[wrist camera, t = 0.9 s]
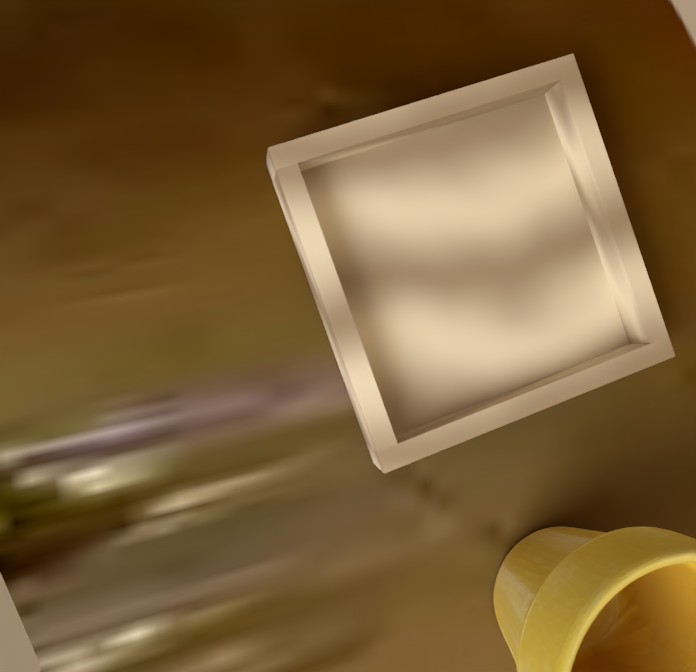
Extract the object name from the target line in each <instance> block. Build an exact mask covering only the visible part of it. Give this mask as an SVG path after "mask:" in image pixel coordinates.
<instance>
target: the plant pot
mask: <svg viewBox="0 0 696 672" xmlns="http://www.w3.org/2000/svg"><path fill="white" fill-rule="evenodd" d="M493 598H494V608H495V614H496V617H497V621H498V624H499V626H500V628H501V631H502V633H503V635H504V638H505V640H506V642H507V644H508V646H509V648H510V651H511V653H512V655H513V657H514V660H515V662H516V664H517V672H696V539H695V538H692V537H689V536H686V535H683V534H680V533H677V532H674V531H671V530H666V529H661V528H656V527H628V528H622V529H617V530H613V531H610V532H600V531H593V530H587V529H581V528H573V527H563V526H560V527H549V528H545V529H541V530H538V531H536V532H534V533H532V534H530V535H528V536H527V537H525V538H524V539H522V540H521V541H520V542H519V543H517V544H516V545H515V546H514V547H513V548H512V549H511V551H510V552H509V553H508V555H507V556H506V557H505V559H504V561H503V562H502V564H501V567H500V569H499V571H498V574H497V577H496V581H495V586H494V597H493Z"/></svg>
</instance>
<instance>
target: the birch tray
mask: <svg viewBox="0 0 696 672" xmlns="http://www.w3.org/2000/svg"><path fill="white" fill-rule="evenodd" d="M266 165H267V168H268V171H269V174H270V176H271V179H272V182H273V185H274V187H275V190H276V193H277V196H278V199H279V201H280V204H281V207H282V210H283V213H284V215H285V218H286V221H287V224H288V227H289V229H290V232H291V235H292V238H293V241H294V243H295V246H296V249H297V252H298V254H299V257H300V260H301V263H302V266H303V268H304V271H305V274H306V277H307V280H308V282H309V285H310V288H311V291H312V294H313V296H314V299H315V302H316V305H317V308H318V310H319V313H320V316H321V319H322V321H323V324H324V327H325V330H326V333H327V335H328V338H329V341H330V344H331V347H332V349H333V352H334V355H335V358H336V361H337V363H338V366H339V369H340V372H341V374H342V377H343V380H344V383H345V386H346V388H347V391H348V394H349V397H350V400H351V402H352V405H353V408H354V411H355V414H356V416H357V419H358V422H359V425H360V428H361V430H362V433H363V436H364V439H365V441H366V444H367V447H368V450H369V453H370V455H371V458H372V461H373V463H374V464H375V465H376V466H377V467H378V468H379V469H380V470H381V471H382V472H383V473H387V472H389V471H392V470H394V469H397V468H399V467H402V466H404V465H407V464H409V463H412V462H414V461H417V460H419V459H422V458H424V457H427V456H429V455H432V454H434V453H437V452H439V451H442V450H444V449H447V448H449V447H451V446H454V445H456V444H459V443H461V442H464V441H466V440H469V439H471V438H474V437H476V436H479V435H481V434H484V433H486V432H489V431H491V430H494V429H496V428H499V427H501V426H504V425H506V424H509V423H511V422H514V421H516V420H519V419H521V418H523V417H526V416H528V415H531V414H533V413H536V412H538V411H541V410H543V409H546V408H548V407H551V406H553V405H556V404H558V403H561V402H563V401H566V400H568V399H571V398H573V397H576V396H578V395H581V394H583V393H586V392H588V391H591V390H593V389H595V388H598V387H600V386H603V385H605V384H608V383H610V382H613V381H615V380H618V379H620V378H623V377H625V376H628V375H630V374H633V373H635V372H638V371H640V370H643V369H645V368H648V367H650V366H653V365H655V364H658V363H660V362H662V361H665V360H667V359H670V358H672V357H675V353H674V350H673V347H672V344H671V342H670V339H669V336H668V333H667V330H666V327H665V324H664V321H663V318H662V315H661V312H660V309H659V306H658V303H657V300H656V297H655V294H654V291H653V288H652V285H651V282H650V279H649V276H648V273H647V270H646V267H645V264H644V261H643V258H642V255H641V252H640V250H639V247H638V244H637V241H636V238H635V235H634V232H633V229H632V226H631V223H630V220H629V217H628V214H627V211H626V208H625V205H624V202H623V199H622V196H621V193H620V190H619V187H618V184H617V181H616V178H615V175H614V172H613V169H612V166H611V163H610V161H609V158H608V155H607V152H606V149H605V146H604V143H603V140H602V137H601V134H600V131H599V128H598V125H597V122H596V119H595V116H594V113H593V110H592V107H591V104H590V101H589V98H588V95H587V92H586V89H585V86H584V83H583V80H582V77H581V74H580V71H579V69H578V66H577V63H576V60H575V57H574V54H570V55H566V56H563V57H560V58H557V59H553V60H550V61H547V62H544V63H540V64H537V65H534V66H531V67H527V68H524V69H521V70H518V71H515V72H511V73H508V74H505V75H502V76H498V77H495V78H492V79H489V80H485V81H482V82H479V83H476V84H472V85H469V86H466V87H463V88H459V89H456V90H453V91H450V92H446V93H443V94H440V95H437V96H434V97H430V98H427V99H424V100H421V101H417V102H414V103H411V104H408V105H404V106H401V107H398V108H395V109H391V110H388V111H385V112H382V113H378V114H375V115H372V116H369V117H366V118H362V119H359V120H356V121H353V122H349V123H346V124H343V125H340V126H336V127H333V128H330V129H327V130H323V131H320V132H317V133H314V134H310V135H307V136H304V137H301V138H297V139H294V140H291V141H288V142H285V143H281V144H278V145H275V146H272V147H268V151H267V160H266Z"/></svg>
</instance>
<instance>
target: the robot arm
mask: <svg viewBox="0 0 696 672" xmlns="http://www.w3.org/2000/svg"><path fill="white" fill-rule="evenodd" d="M40 670H41V665H40V663H39V661H38V658H37V656H36V654H35V652H34V649H33V647H32V645H31V642H30V640H29V638H28V635H27V633H26V631H25V628H24V626H23V624H22V622H21V619H20V617H19V615H18V612H17V610H16V608H15V605H14V603H13V601H12V599H11V596H10V594H9V592H8V589H7V587H6V585H5V582H4V580H3V578H2V575H1V573H0V672H39V671H40Z"/></svg>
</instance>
